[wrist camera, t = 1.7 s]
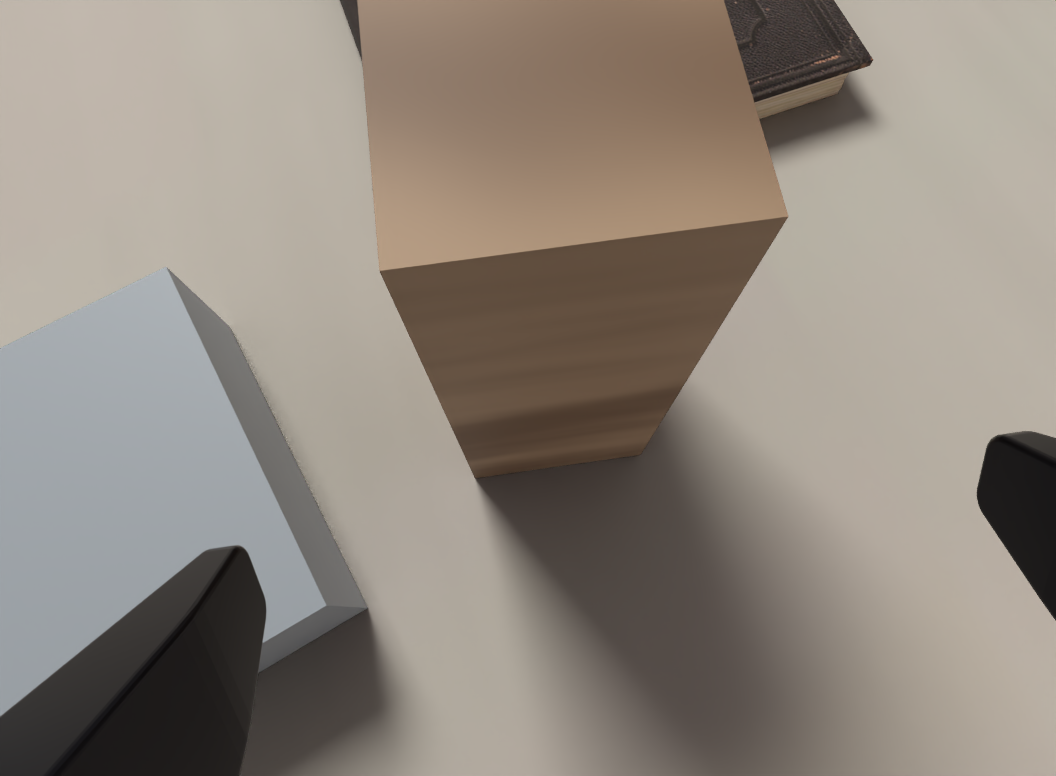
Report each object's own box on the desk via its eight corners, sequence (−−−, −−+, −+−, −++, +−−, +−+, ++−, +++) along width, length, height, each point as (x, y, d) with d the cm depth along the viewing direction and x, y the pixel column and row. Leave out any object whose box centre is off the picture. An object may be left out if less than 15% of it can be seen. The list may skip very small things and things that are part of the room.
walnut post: (640, 454, 21) (788, 216, 8) (474, 478, 21) (380, 271, 8) (610, 304, 22) (699, -83, 10) (457, 325, 22) (353, -40, 10)
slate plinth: (368, 607, 20) (326, 605, 16) (23, 813, 18) (-115, 865, 14) (229, 326, 22) (166, 266, 18) (-79, 484, 21) (-217, 454, 17)
